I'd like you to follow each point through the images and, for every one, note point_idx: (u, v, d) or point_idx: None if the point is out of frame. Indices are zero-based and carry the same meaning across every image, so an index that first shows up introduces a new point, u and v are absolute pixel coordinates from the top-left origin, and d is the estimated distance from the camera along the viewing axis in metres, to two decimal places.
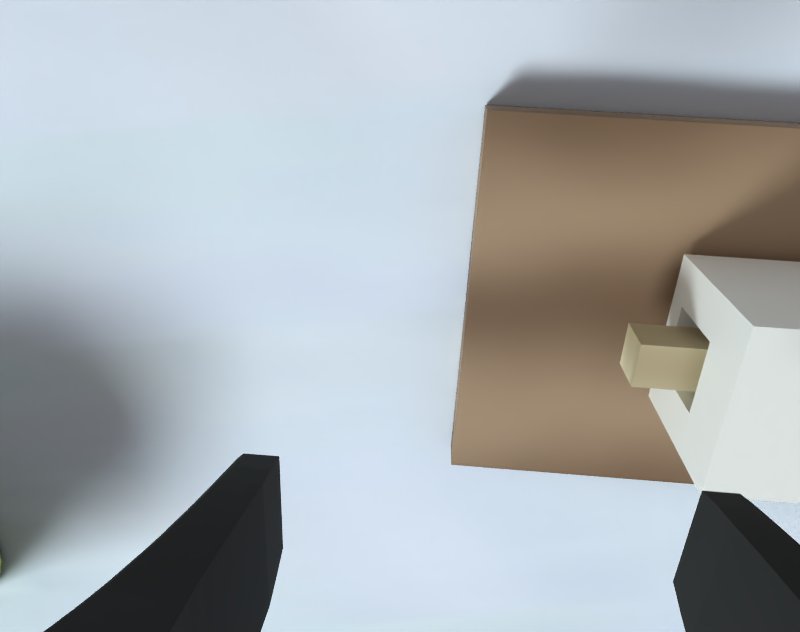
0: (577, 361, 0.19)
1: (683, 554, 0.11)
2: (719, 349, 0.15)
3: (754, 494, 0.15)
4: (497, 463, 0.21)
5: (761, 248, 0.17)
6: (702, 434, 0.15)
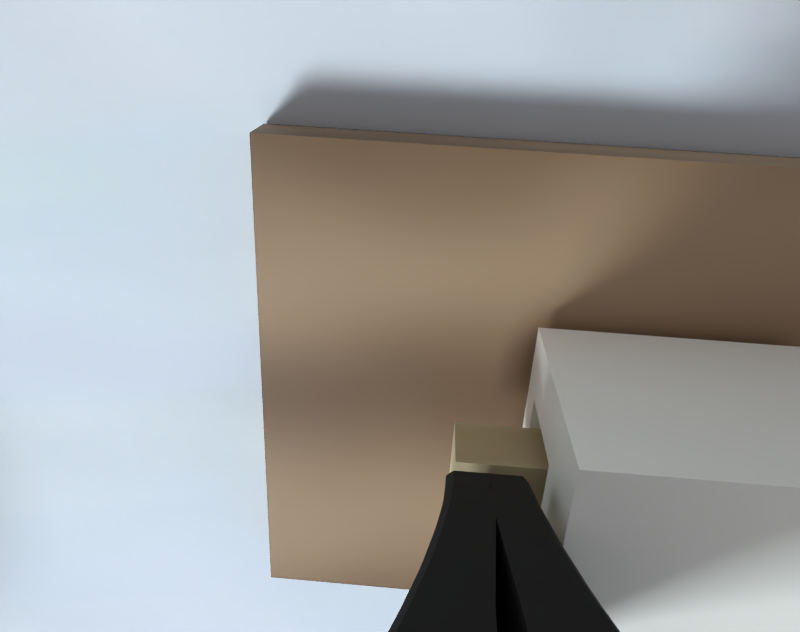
0: (413, 458, 0.14)
1: None
2: (554, 482, 0.10)
3: None
4: (328, 577, 0.16)
5: (639, 319, 0.13)
6: None
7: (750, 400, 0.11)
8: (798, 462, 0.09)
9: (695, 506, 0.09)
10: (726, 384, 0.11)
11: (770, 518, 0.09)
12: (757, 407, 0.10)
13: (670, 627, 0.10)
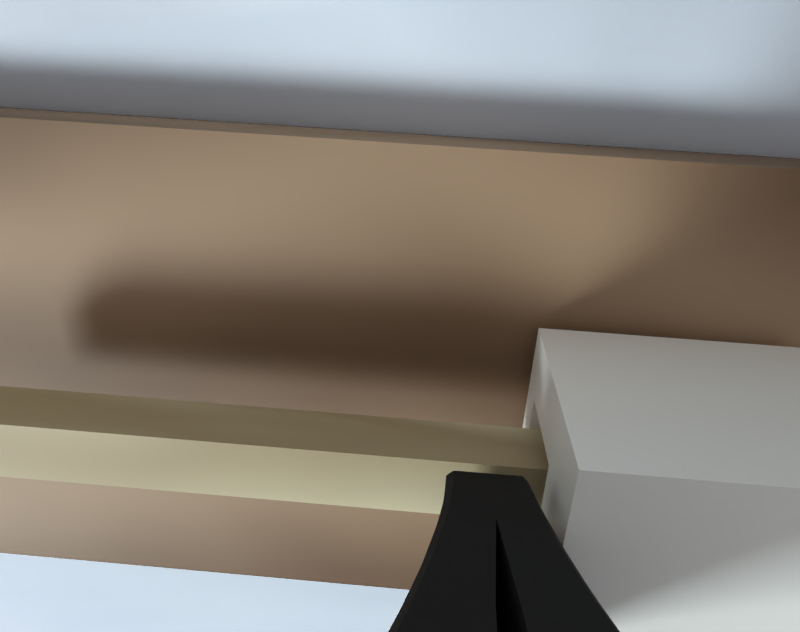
0: None
1: None
2: (554, 482, 0.10)
3: None
4: None
5: (177, 285, 0.13)
6: None
7: (750, 401, 0.11)
8: (798, 462, 0.09)
9: (694, 507, 0.09)
10: (726, 385, 0.11)
11: (770, 518, 0.09)
12: (757, 408, 0.10)
13: (670, 627, 0.10)
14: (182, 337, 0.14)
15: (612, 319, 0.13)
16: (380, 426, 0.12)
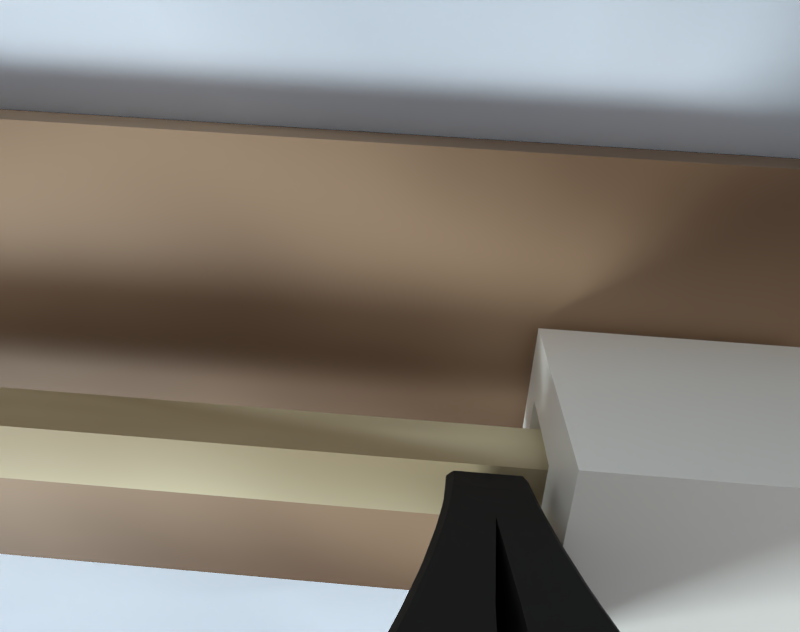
0: None
1: None
2: (554, 482, 0.10)
3: None
4: None
5: None
6: None
7: (749, 401, 0.11)
8: (797, 462, 0.09)
9: (695, 507, 0.09)
10: (725, 384, 0.11)
11: (769, 518, 0.09)
12: (756, 407, 0.10)
13: (669, 627, 0.10)
14: None
15: (388, 303, 0.13)
16: (148, 408, 0.12)
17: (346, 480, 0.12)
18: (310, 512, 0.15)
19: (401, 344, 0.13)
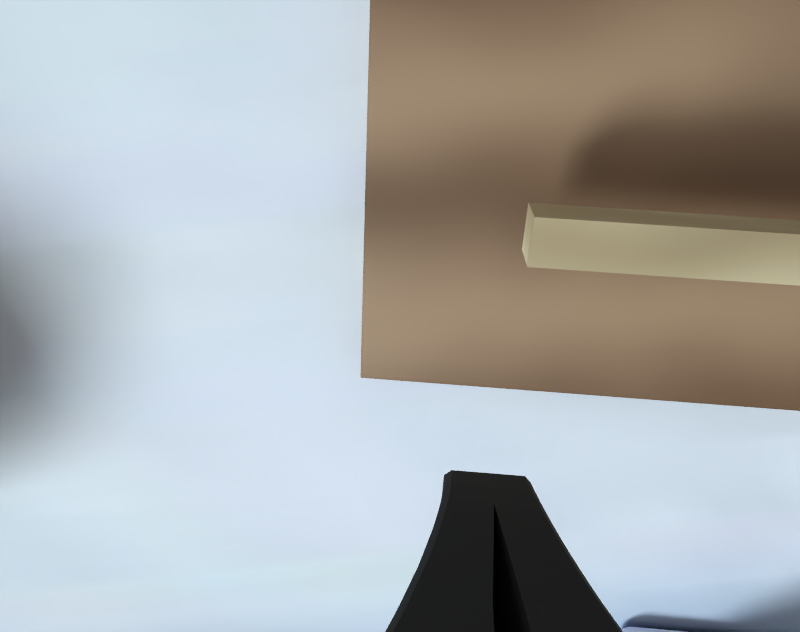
0: (486, 258, 0.18)
1: None
2: None
3: None
4: (408, 375, 0.20)
5: (673, 125, 0.16)
6: None
7: None
8: None
9: None
10: None
11: None
12: None
13: None
14: (662, 173, 0.16)
15: None
16: None
17: None
18: None
19: None
